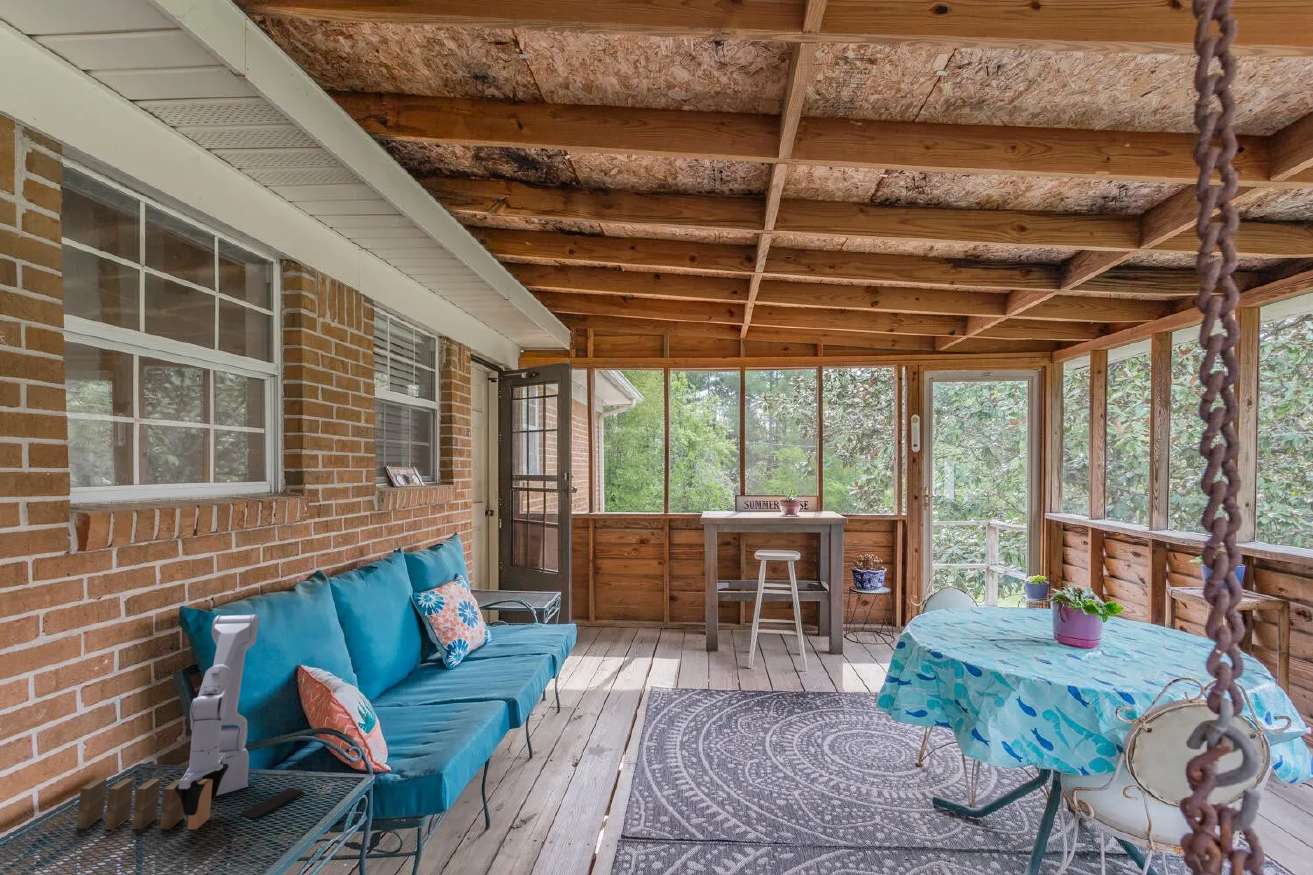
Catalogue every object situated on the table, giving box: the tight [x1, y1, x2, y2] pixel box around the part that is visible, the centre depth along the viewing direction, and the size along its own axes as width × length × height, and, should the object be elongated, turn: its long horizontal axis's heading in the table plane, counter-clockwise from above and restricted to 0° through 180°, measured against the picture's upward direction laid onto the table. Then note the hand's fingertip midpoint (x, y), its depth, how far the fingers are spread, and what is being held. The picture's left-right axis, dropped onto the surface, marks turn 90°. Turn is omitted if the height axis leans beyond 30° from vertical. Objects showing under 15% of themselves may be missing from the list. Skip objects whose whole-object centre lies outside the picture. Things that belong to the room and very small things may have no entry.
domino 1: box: [76, 778, 108, 829], centre depth 151 cm, size 2×5×9 cm, turn 4°
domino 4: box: [159, 778, 185, 830], centre depth 153 cm, size 2×5×9 cm, turn 4°
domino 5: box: [187, 779, 213, 830], centre depth 153 cm, size 2×5×9 cm, turn 5°
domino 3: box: [132, 778, 161, 830], centre depth 152 cm, size 2×5×9 cm, turn 4°
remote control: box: [240, 787, 304, 821], centre depth 162 cm, size 5×2×15 cm
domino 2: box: [104, 778, 134, 830], centre depth 152 cm, size 2×5×9 cm, turn 4°
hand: (200, 806), depth 153 cm, fingers open, 7 cm apart
